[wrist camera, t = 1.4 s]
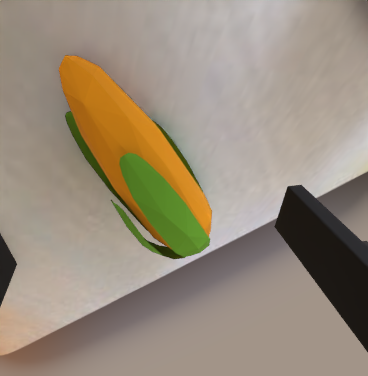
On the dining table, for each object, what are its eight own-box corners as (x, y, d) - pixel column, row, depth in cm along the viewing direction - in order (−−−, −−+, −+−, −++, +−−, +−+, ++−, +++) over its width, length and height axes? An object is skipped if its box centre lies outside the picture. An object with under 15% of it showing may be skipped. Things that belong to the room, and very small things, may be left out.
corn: (173, 294, 23) (-23, 114, 11) (158, 238, 30) (19, 81, 17) (242, 255, 23) (115, 28, 11) (212, 206, 29) (108, 25, 17)
